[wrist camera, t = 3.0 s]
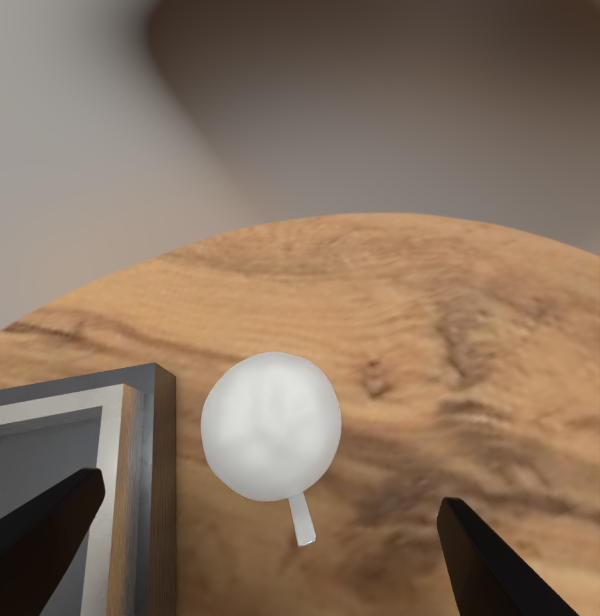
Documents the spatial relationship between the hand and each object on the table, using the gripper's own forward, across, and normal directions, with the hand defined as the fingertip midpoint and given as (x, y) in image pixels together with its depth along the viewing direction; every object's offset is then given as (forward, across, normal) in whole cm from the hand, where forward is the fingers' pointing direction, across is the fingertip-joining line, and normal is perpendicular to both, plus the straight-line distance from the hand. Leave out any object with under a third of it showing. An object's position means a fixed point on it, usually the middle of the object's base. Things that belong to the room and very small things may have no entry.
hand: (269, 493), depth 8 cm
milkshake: (+8, 0, +6) cm, 10 cm away
